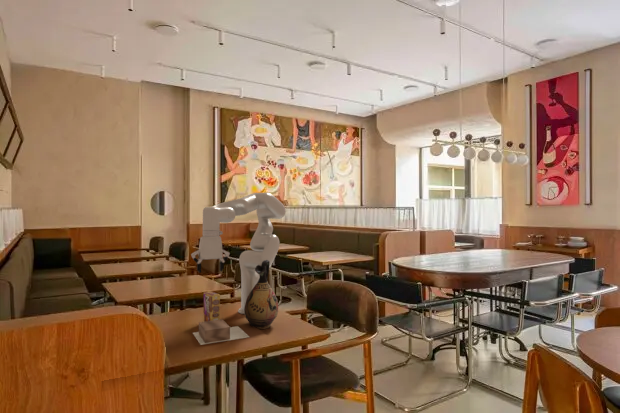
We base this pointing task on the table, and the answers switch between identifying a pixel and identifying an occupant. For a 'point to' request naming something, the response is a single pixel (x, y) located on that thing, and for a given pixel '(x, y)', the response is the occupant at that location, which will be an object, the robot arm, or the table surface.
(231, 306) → the table surface
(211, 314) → the candy box
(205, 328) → the walnut block
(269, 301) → the ceramic jug
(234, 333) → the baseplate
